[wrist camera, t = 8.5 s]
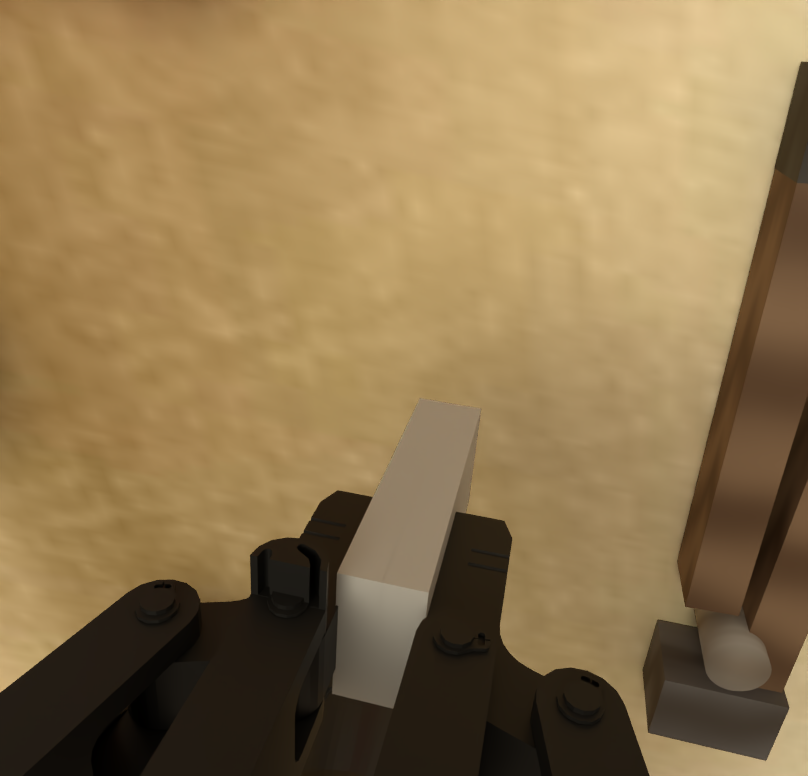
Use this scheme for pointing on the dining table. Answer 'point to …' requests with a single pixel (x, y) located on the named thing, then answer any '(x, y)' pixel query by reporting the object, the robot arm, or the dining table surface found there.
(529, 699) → the robot arm
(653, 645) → the base
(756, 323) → the bar
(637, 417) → the dining table surface
